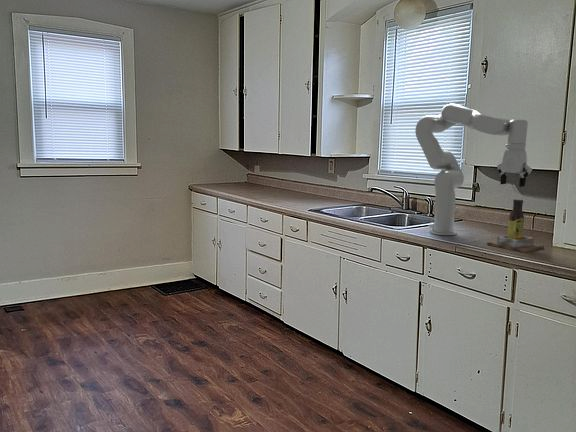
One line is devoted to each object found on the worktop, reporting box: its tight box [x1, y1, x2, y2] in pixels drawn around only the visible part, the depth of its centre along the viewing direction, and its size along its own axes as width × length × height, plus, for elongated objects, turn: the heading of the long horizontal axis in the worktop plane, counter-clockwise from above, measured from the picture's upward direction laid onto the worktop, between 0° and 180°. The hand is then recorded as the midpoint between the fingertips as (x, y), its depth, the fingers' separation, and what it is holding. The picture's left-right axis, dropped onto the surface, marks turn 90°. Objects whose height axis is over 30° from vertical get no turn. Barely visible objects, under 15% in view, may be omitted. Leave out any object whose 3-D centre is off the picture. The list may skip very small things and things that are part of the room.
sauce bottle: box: [506, 198, 525, 240], centre depth 239 cm, size 7×6×20 cm
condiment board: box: [486, 234, 545, 253], centre depth 240 cm, size 18×15×4 cm
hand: (512, 185), depth 245 cm, fingers open, 9 cm apart
